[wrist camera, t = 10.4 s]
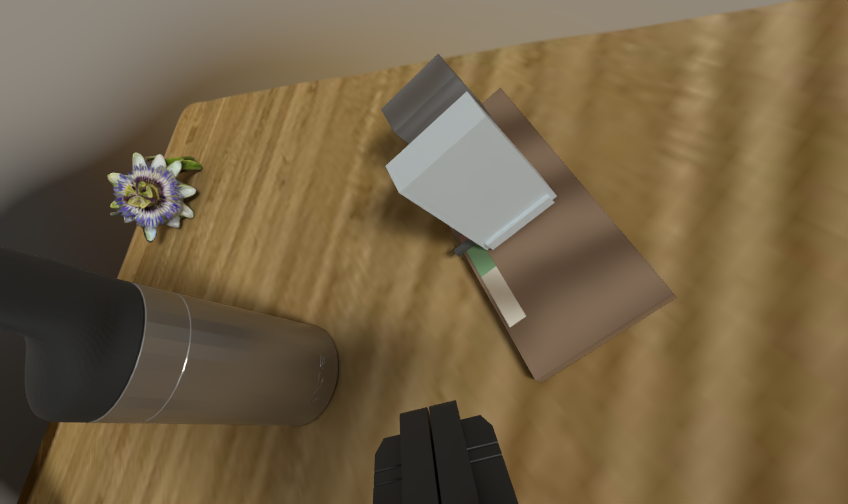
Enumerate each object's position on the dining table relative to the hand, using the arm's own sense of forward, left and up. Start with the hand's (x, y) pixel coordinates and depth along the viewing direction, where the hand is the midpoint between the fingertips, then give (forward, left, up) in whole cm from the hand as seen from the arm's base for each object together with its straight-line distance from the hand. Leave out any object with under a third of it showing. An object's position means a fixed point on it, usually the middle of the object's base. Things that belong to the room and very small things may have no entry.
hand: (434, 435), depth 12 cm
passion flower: (-63, +18, -21) cm, 68 cm away
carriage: (-11, +15, -19) cm, 27 cm away
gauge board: (-9, +14, -21) cm, 26 cm away
